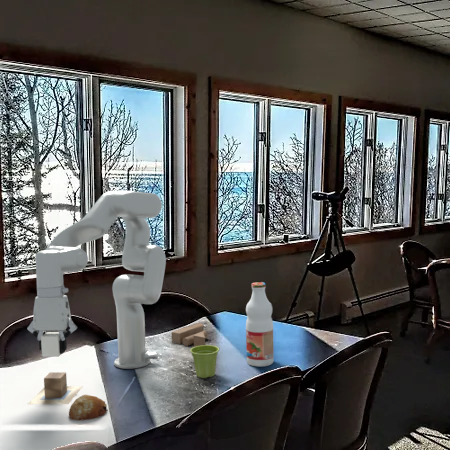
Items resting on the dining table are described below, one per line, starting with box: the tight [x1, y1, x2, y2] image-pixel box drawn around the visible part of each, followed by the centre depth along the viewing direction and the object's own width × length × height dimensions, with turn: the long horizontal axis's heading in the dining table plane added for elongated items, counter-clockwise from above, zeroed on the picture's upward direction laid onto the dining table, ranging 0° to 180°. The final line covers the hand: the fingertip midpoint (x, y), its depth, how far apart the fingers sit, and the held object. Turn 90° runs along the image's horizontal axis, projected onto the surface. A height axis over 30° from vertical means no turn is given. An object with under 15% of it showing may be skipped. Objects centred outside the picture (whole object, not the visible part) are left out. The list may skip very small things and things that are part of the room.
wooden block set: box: [171, 322, 209, 347], centre depth 230 cm, size 17×6×18 cm
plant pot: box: [190, 344, 220, 379], centre depth 190 cm, size 9×9×9 cm
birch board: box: [27, 385, 83, 405], centre depth 173 cm, size 12×14×1 cm
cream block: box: [41, 331, 62, 358], centre depth 172 cm, size 5×5×6 cm
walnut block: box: [43, 371, 68, 398], centre depth 173 cm, size 5×5×6 cm
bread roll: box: [68, 394, 109, 421], centre depth 160 cm, size 10×10×8 cm
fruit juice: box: [245, 281, 275, 368], centre depth 200 cm, size 9×9×28 cm
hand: (53, 351), depth 172 cm, fingers closed on cream block, 5 cm apart
